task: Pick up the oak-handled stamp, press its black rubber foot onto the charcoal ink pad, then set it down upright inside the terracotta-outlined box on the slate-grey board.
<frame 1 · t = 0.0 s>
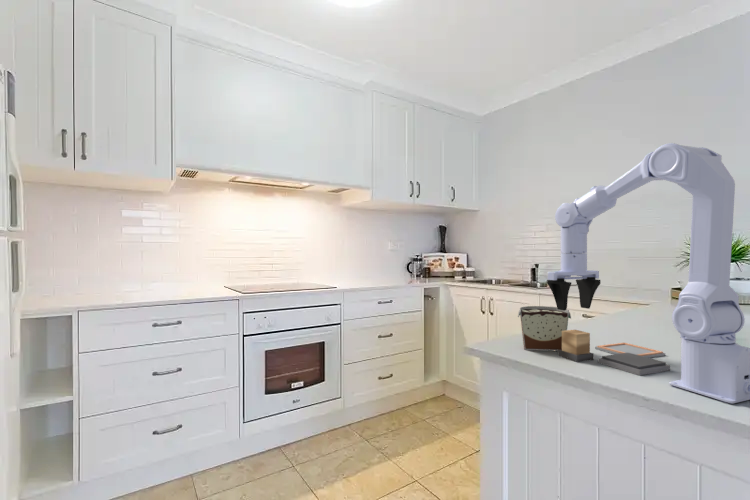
hand: (573, 308, 93), 10 cm above the countertop, fingers open, 7 cm apart
ink pad: (632, 366, 80), on the countertop
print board: (629, 352, 91), on the countertop
stamp: (575, 358, 87), on the countertop
food container: (540, 347, 96), on the countertop
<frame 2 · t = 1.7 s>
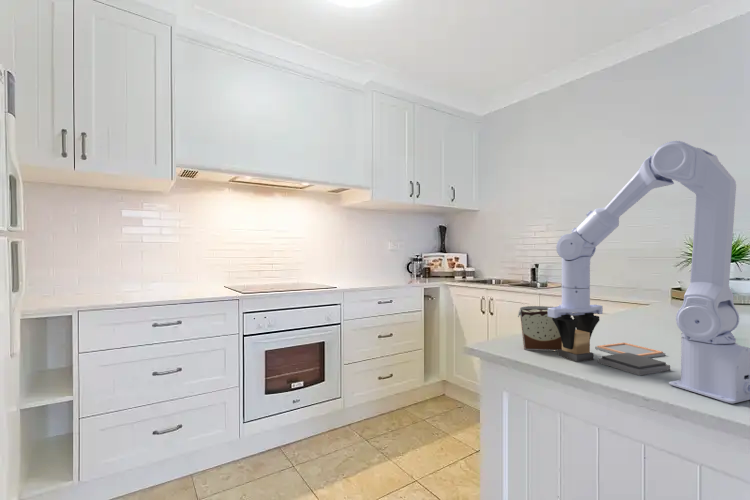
hand: (575, 347, 87), 2 cm above the countertop, fingers closed on stamp, 4 cm apart
stamp: (575, 357, 87), on the countertop, touching gripper
everything else where it was.
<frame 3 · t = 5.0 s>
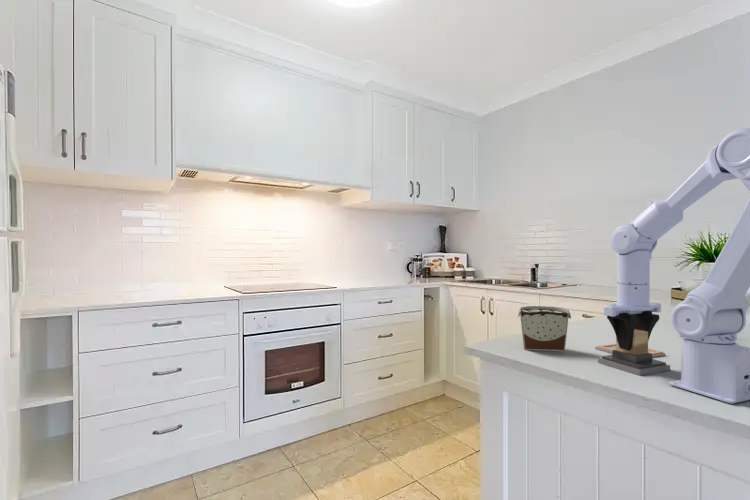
hand: (632, 348, 80), 4 cm above the countertop, fingers closed on stamp, 4 cm apart
stamp: (631, 358, 81), point 1 cm above the countertop, touching gripper, ink pad
everything else where it was.
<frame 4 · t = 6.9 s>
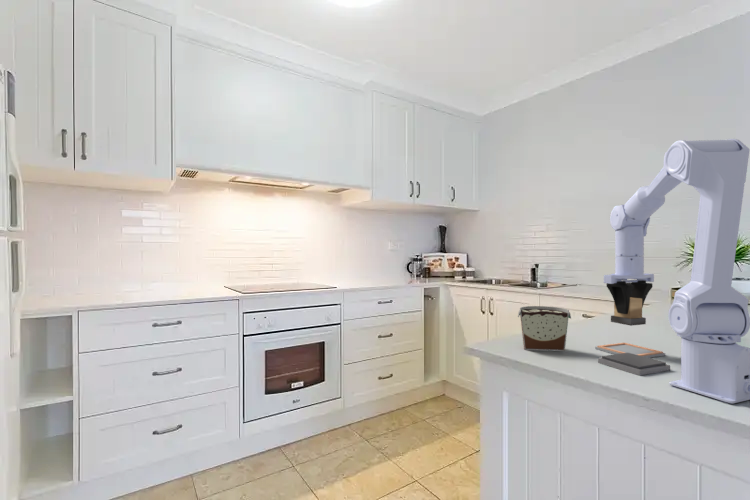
hand: (629, 312, 91), 9 cm above the countertop, fingers closed on stamp, 4 cm apart
stamp: (627, 322, 92), point 7 cm above the countertop, touching gripper
everything else where it was.
when the fingers open (4 cm above the countertop, at t = 8.2 s): stamp drops 1 cm, resting on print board.
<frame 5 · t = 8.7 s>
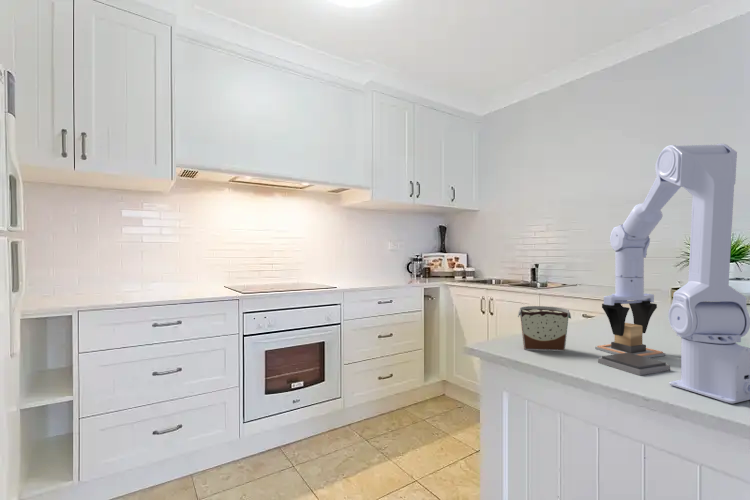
hand: (629, 333, 91), 4 cm above the countertop, fingers open, 7 cm apart
stamp: (628, 349, 92), resting on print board
everything else where it was.
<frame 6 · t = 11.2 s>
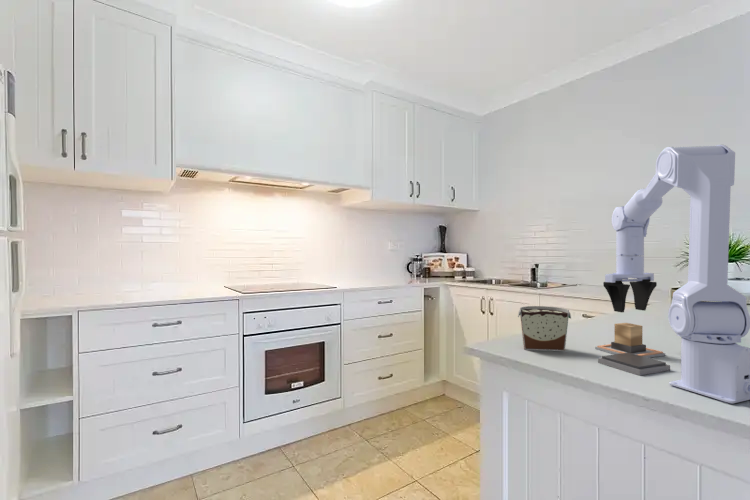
hand: (629, 310, 94), 9 cm above the countertop, fingers open, 7 cm apart
nothing on the countertop moved.
at the end: stamp 0.3 cm off-centre on the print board, point 0.5 cm above the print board's base; stamp tilted 0°; the gripper is holding nothing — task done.
